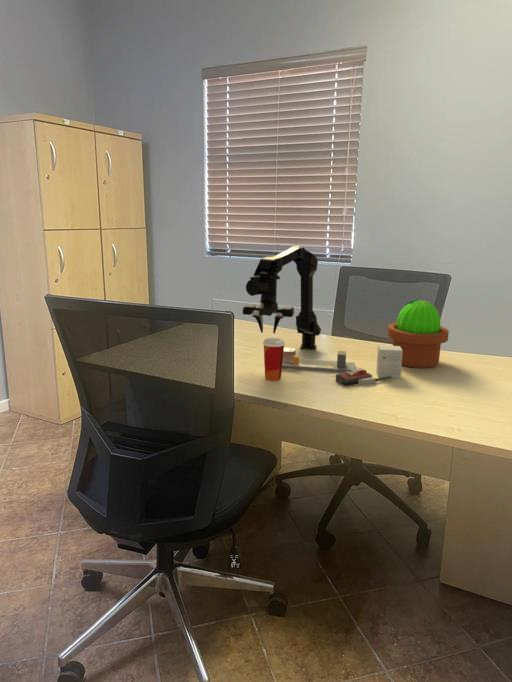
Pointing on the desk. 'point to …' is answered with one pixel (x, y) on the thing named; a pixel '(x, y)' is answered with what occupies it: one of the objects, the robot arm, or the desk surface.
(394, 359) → the small box
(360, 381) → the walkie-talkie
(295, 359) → the block
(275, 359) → the paper cup
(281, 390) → the desk surface
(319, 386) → the desk surface
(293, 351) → the grey faceted block
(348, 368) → the gauge board
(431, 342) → the potted cactus
